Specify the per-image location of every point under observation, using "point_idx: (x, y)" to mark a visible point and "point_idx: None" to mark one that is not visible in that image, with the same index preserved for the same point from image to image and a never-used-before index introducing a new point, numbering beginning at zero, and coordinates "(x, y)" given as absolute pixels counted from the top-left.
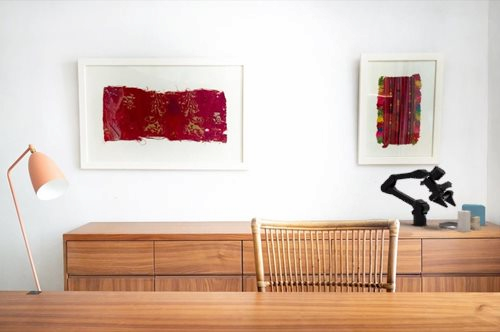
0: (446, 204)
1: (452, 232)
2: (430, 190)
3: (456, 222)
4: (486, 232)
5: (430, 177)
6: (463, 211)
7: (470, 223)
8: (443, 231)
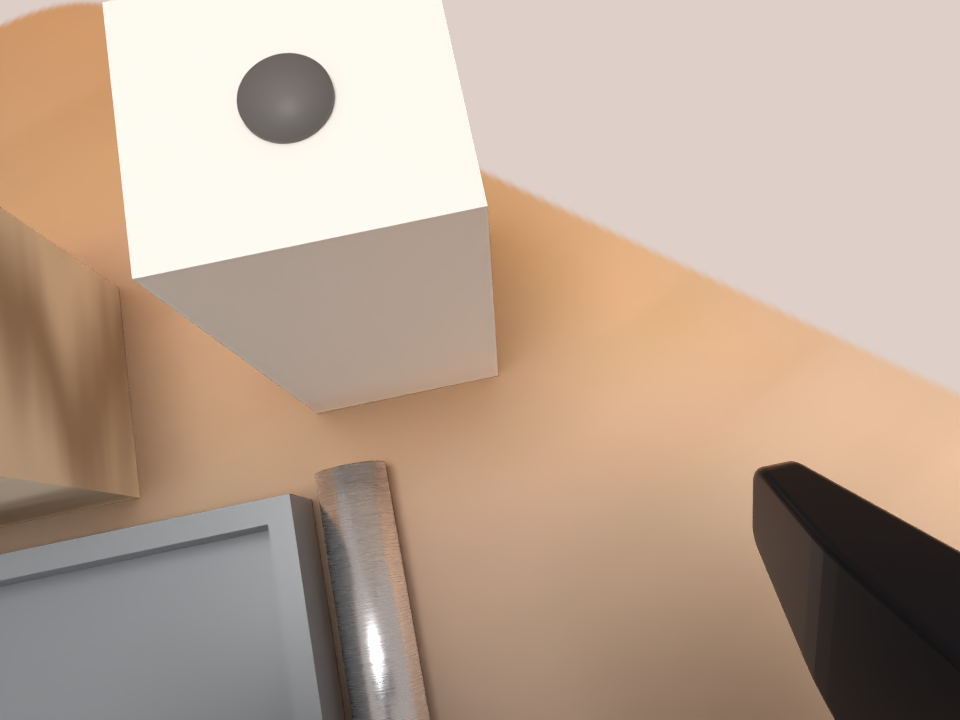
0: (865, 533)
1: (722, 317)
2: None
3: None
4: None
5: None
6: (421, 29)
7: (57, 336)
8: None
